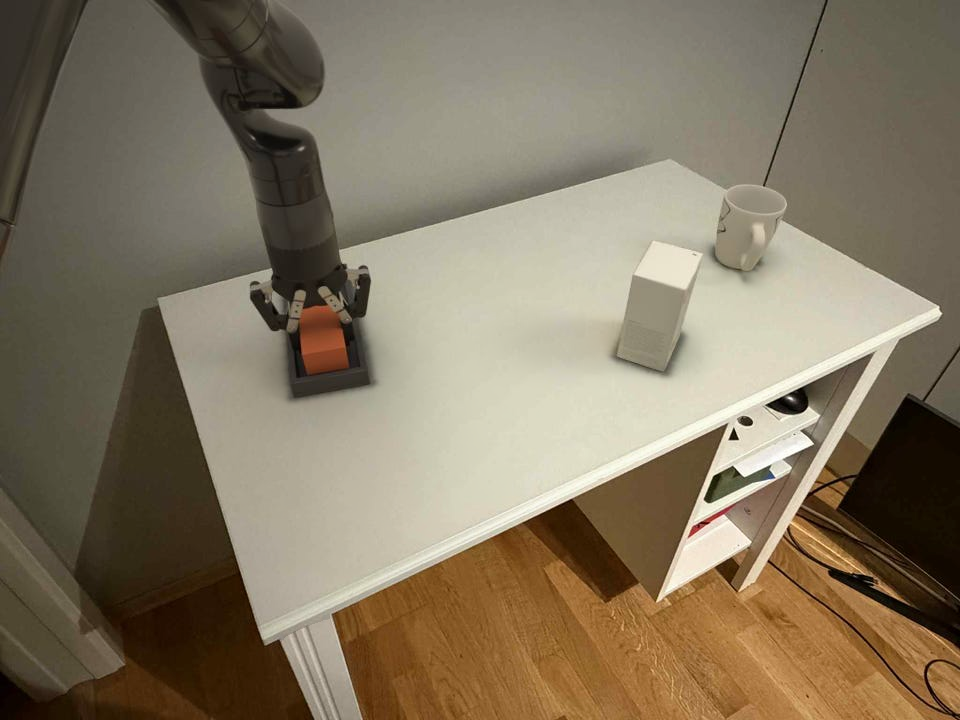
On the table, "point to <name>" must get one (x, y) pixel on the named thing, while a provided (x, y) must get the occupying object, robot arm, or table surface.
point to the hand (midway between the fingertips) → (324, 345)
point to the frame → (332, 379)
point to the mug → (747, 224)
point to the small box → (658, 304)
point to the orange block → (322, 340)
